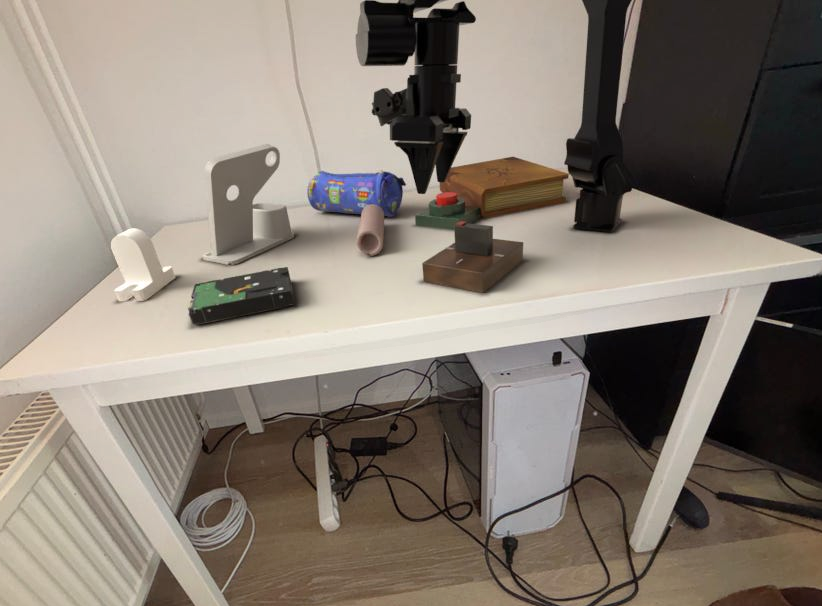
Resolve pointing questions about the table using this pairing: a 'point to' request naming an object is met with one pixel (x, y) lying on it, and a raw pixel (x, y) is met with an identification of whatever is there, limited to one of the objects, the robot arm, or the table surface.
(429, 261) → the panel
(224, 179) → the grey bracket stand
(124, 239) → the white stand
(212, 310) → the disk drive
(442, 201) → the button
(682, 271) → the table surface
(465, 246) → the knob
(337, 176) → the pencil case
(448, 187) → the diary
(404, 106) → the robot arm
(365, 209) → the beige hollow tube
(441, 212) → the button box
